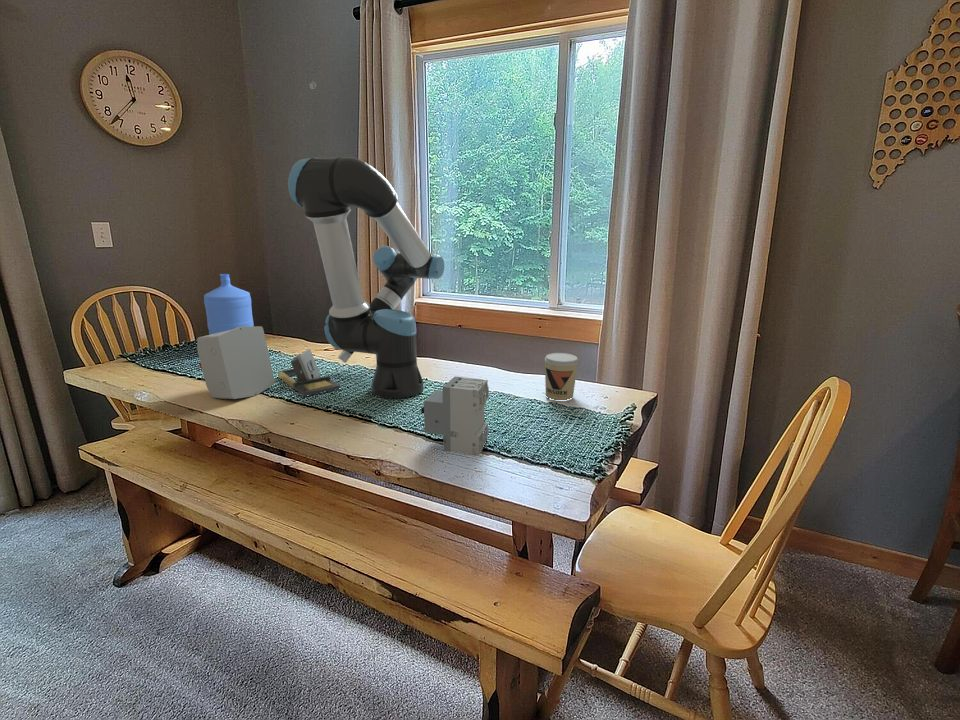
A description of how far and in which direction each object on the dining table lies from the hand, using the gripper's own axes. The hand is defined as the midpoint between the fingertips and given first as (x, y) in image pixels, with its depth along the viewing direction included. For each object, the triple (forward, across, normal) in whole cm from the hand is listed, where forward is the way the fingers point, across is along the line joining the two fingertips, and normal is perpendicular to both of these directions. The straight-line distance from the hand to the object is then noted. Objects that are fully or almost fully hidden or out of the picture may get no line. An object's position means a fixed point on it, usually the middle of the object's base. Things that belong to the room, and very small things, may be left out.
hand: (341, 360), depth 164 cm
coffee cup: (-24, -60, -30) cm, 71 cm away
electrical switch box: (+26, +2, +20) cm, 32 cm away
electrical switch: (+12, -1, +6) cm, 13 cm away
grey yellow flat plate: (+12, -4, +6) cm, 14 cm away
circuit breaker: (+5, -65, 0) cm, 65 cm away
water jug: (+17, +52, +11) cm, 56 cm away
